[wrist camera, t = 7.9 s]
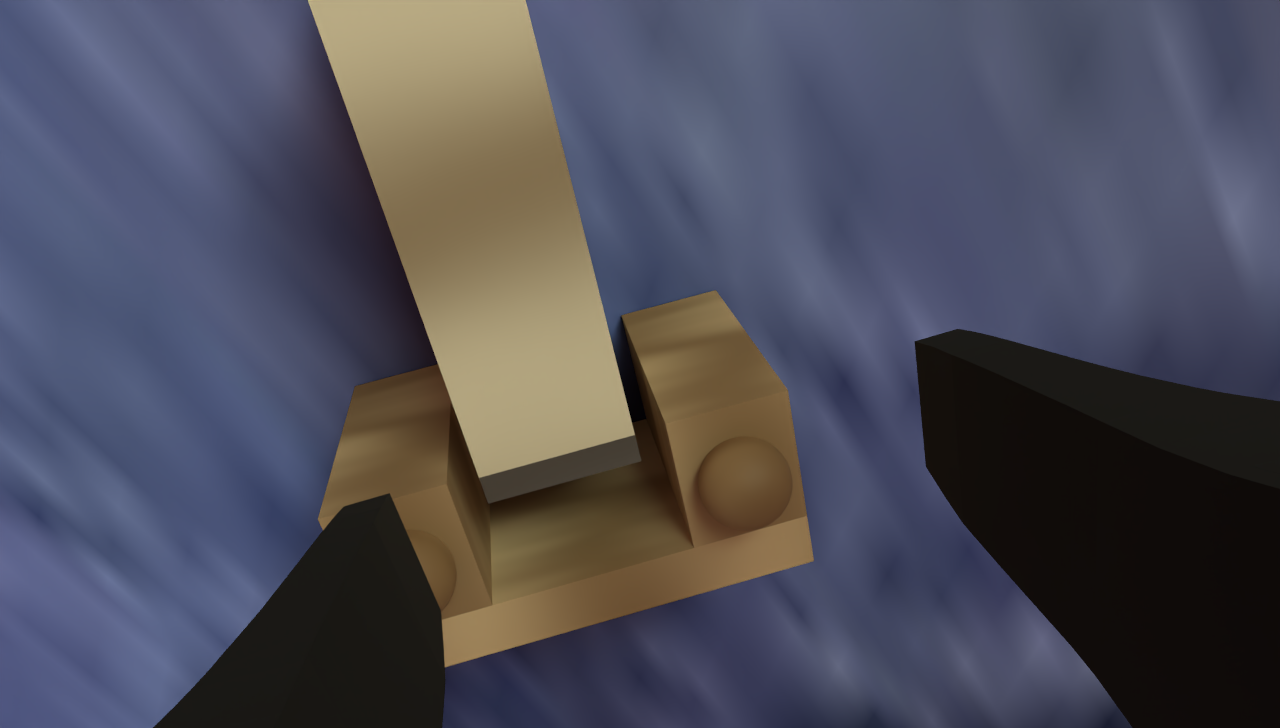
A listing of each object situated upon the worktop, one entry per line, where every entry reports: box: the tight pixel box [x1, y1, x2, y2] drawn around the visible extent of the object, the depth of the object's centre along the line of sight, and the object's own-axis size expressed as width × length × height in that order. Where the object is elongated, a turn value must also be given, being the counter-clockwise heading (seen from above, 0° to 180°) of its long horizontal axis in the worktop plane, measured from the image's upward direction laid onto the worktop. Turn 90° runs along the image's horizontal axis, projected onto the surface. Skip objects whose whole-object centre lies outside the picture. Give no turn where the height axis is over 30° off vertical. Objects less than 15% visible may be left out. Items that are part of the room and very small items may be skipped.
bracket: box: [318, 290, 814, 667], centre depth 19 cm, size 9×4×7 cm, turn 102°
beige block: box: [308, 0, 641, 504], centre depth 17 cm, size 10×3×6 cm, turn 12°
